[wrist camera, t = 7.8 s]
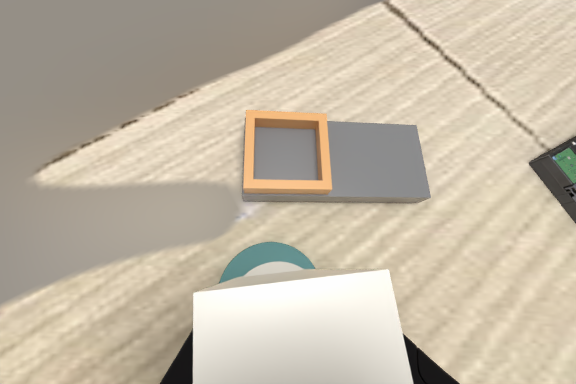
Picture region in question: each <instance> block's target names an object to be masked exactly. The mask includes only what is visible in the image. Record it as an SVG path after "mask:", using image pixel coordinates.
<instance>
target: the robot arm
mask: <svg viewBox="0 0 576 384" xmlns="http://www.w3.org/2000/svg"><path fill="white" fill-rule="evenodd" d="M403 338H404V342H405V347H406V352H407V356H408V361H409V365H410V370H411V375H412V379H413V384H460V383H458V382H457V381H456V380H455V379H454V378H452V377H451V376H450V375H449V374H447V373H446V372H445V371H444V370H443V369H442V368H440V367H439V366H438V365H437V364H436V363H435V362H434V361H433V360H431V359H430V358H429V357H428V356H427V355H426V354H425V353H424V352H423V351H422V350H420V349H419V348H417V346H416V345H415V344H414V343H413V342H412V341H411V340H410V339H408V338H407V337H406V336H405V335H404V334H403ZM160 384H193V330H192V331H191V333H190V335H189V336H188V338H187V340H186V341H185V343H184V345H183V346H182V348H181V350H180V351H179V353H178V354H177V356H176V358H175V359H174V361H173V363H172V364H171V366H170V368H169V369H168V371H167V373H166V374H165V376H164V378H163V379H162V381H161V382H160Z"/></svg>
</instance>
